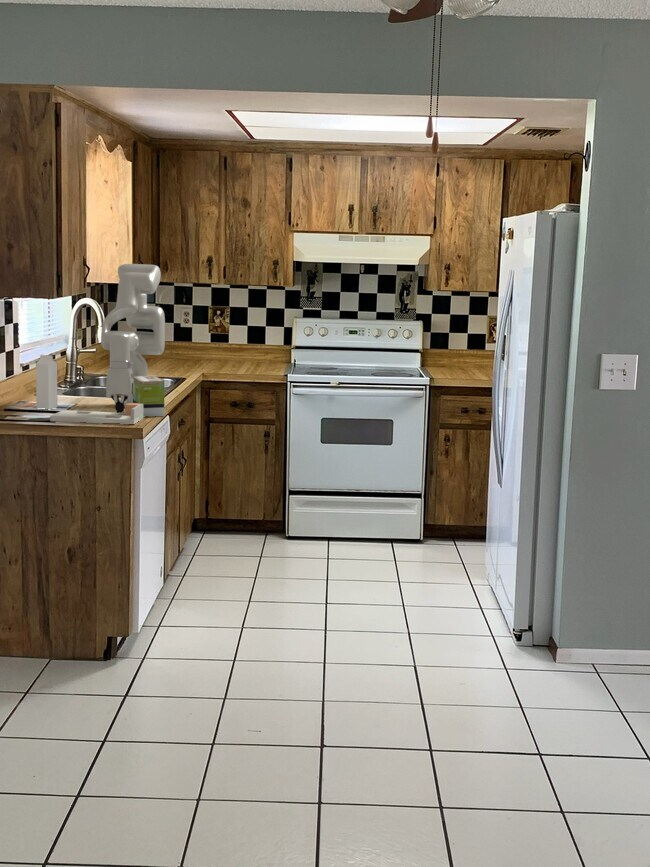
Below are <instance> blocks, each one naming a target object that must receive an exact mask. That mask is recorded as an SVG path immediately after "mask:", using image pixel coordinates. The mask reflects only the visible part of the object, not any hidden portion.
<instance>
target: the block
mask: <svg viewBox="0 0 650 867" xmlns="http://www.w3.org/2000/svg"><path fill="white" fill-rule="evenodd" d="M139 404H140V403H127V404H125V407H124V413H125V415H131V409H132V408H134V407H136V406H138V405H139Z"/></svg>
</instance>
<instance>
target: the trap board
mask: <svg viewBox="0 0 650 867" xmlns="http://www.w3.org/2000/svg"><path fill="white" fill-rule="evenodd" d="M49 419H50V420H49V421H50V422H60V423H61V422H62V423H63V422H65V423H80V422H86V423H87V424H102V423H120V424H119V425H124V424H135V423H136V424H138V423H139V422H141V421H142V420H144V417H143V404H139V405H138V406H136V407H134V408H132V409H131V415H125V412H122V413H117V412H115V411H114V412H112V411H91V410H90V411H89V410H87V411H86V410H67V409H62V410H60V411H58V412H56V413H54V414H52V415H50V416H49ZM141 419H142V420H141ZM140 420H141V421H140ZM138 421H139V422H138ZM137 422H138V423H137ZM86 423H85V424H86ZM136 424H135V425H136Z"/></svg>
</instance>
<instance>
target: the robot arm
mask: <svg viewBox="0 0 650 867" xmlns="http://www.w3.org/2000/svg"><path fill="white" fill-rule="evenodd" d="M161 274H162V272H161V269H160V267H159V266H158V265H155V264H147V263H146V264H144V263H143V264H141V263H140V264H139V263H123V264H120V265H119V266H118V268H117V276H118V278H119V279H118V286H117V295H116V296H117V297H116V304H115V305H116V306H115V308H114V309H112V310H110V312H109V313H108V314H107V315H106V317H105V319H104V320H103V322H102V323H103V324H102V326H101V327H102V328H101V334H100V335H101V336H100V338H101V339H100V343H101V347H102V348H103V349H104V350H106V351H109V367H108V369H107V373H106V380H105V381H106V382H105V392H106V394H105V397H106V398H110V399H112V401H113V402H114V403H115V408H114V409H115V411H116V413H124V412H125V404H127V403H133V397H134V395H133V392H134V380H133V377H139V376H148V362H147V361H146V359H145V358H144V357H143V356H142V355H144V356H145V355H149V356H150V355H151V356H152V355H153V356H157V355H159V356H161V355H162V354H163V353H164V351H165V346H166V345H165V343H166V339H165V338H166V332H165V331H166V328H165V327H166V318H165V311H164V310H163V308H162V307H160V306H157V305H156V306H155V305H148V302H147V301H148V300H147V298H148V295H152V294H155V293H156V290H157V289H158V286H159V284H160V282H161V277H162V275H161ZM122 319H126V320H125V322H126V324H127V326H128V327H129V328H132V329H133V328H134V329H146V330H152V331H153V332H152V331H151V332H150V331H137V330H136V331H124V330H123V331H122V330H111V328H112V327H113V325H115V324H116V323H117V322H119V321H120V320H122ZM119 396H120V397H119Z"/></svg>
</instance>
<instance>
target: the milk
mask: <svg viewBox="0 0 650 867" xmlns="http://www.w3.org/2000/svg"><path fill="white" fill-rule="evenodd" d="M39 356H40V357H39V359H38V360H37V362H36V363H35V377H36V378H35V380H36V381H35V384H36V385H35V387H36V388H35V391H36V396H35V397H36V400H35V401H36V409H37V408H45V409H52V408H56V407H58V405H59V404H58V362H56V361H55V360H54V359H53V358H54V356H53V355H47V354H46V355H45V354H40V355H39Z"/></svg>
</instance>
